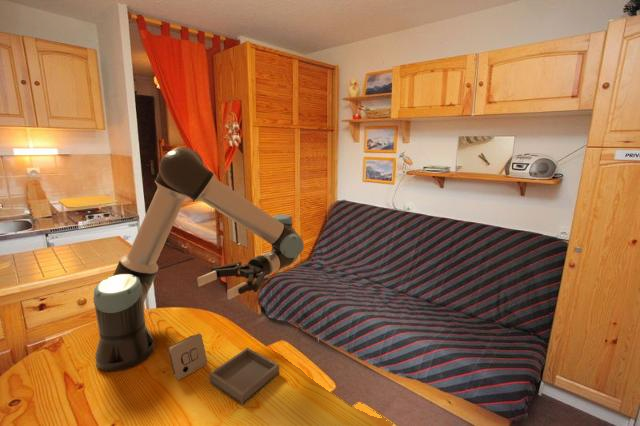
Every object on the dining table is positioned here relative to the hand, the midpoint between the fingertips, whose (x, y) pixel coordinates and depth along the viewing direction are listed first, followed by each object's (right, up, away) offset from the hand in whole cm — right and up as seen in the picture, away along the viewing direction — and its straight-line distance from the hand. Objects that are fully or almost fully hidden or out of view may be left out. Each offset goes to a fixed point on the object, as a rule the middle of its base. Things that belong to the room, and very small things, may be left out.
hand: (212, 288), depth 96 cm
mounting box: (+11, -23, -6) cm, 27 cm away
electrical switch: (-6, -22, -3) cm, 23 cm away
